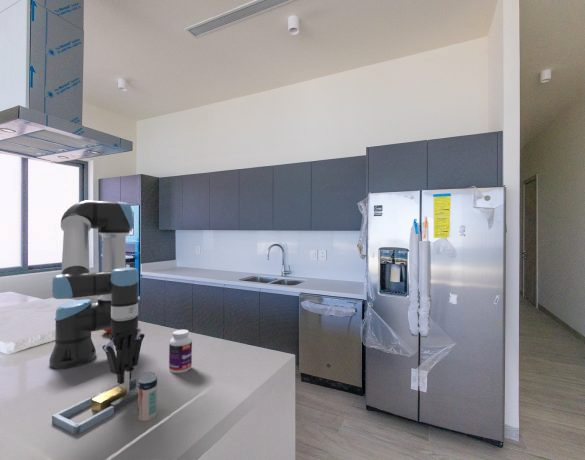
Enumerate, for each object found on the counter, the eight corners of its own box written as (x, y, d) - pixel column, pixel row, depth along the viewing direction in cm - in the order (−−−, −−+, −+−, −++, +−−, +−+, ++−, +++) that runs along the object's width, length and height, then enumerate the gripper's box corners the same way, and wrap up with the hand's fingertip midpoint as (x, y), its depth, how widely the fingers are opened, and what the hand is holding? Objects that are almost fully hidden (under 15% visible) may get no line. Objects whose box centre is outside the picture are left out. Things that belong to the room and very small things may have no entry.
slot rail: (93, 404, 91) (93, 396, 91) (132, 384, 102) (132, 377, 102) (114, 413, 86) (114, 405, 86) (152, 391, 98) (152, 384, 98)
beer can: (142, 412, 87) (142, 371, 87) (159, 411, 87) (159, 371, 87) (135, 423, 82) (135, 379, 82) (152, 422, 83) (153, 379, 83)
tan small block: (91, 409, 87) (91, 399, 87) (105, 402, 91) (105, 392, 91) (100, 413, 86) (100, 402, 86) (113, 405, 89) (113, 395, 89)
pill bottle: (184, 376, 109) (184, 336, 109) (164, 373, 110) (164, 334, 110) (195, 366, 117) (196, 329, 116) (177, 363, 118) (177, 327, 118)
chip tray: (52, 424, 81) (52, 415, 81) (90, 405, 90) (90, 396, 90) (75, 437, 77) (76, 427, 77) (113, 415, 86) (113, 406, 86)
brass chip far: (105, 402, 91) (105, 392, 91) (117, 395, 94) (117, 386, 94) (114, 405, 89) (114, 395, 89) (126, 398, 93) (126, 389, 93)
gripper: (112, 325, 87) (112, 406, 87) (150, 313, 98) (150, 384, 99) (96, 321, 90) (95, 399, 90) (135, 310, 102) (134, 379, 102)
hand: (124, 391), depth 94 cm, fingers closed
